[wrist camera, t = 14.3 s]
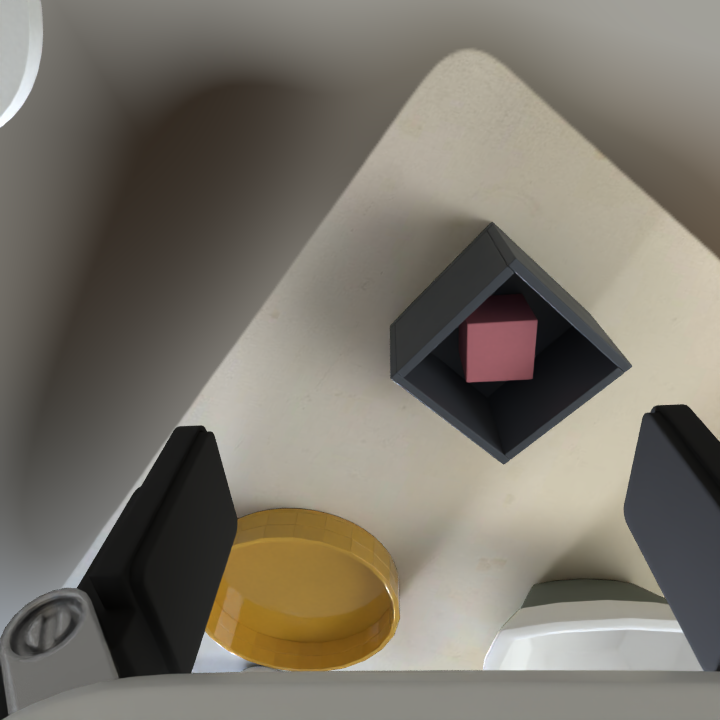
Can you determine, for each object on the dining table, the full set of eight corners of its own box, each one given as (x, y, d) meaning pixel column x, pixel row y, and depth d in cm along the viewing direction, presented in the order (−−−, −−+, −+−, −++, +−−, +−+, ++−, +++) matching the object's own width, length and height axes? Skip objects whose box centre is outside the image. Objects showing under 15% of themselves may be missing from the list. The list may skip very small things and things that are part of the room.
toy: (458, 352, 39) (466, 383, 35) (458, 297, 37) (466, 324, 33) (518, 348, 39) (532, 379, 35) (522, 293, 37) (538, 319, 33)
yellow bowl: (225, 641, 59) (216, 672, 56) (180, 511, 49) (166, 540, 46) (403, 639, 57) (404, 671, 54) (392, 504, 48) (393, 534, 45)
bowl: (465, 678, 60) (476, 763, 53) (472, 537, 49) (486, 619, 42) (665, 679, 59) (704, 767, 51) (718, 533, 48) (778, 619, 40)
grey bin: (485, 402, 42) (503, 465, 35) (389, 325, 39) (390, 378, 32) (590, 313, 38) (633, 366, 31) (491, 221, 35) (516, 257, 28)
